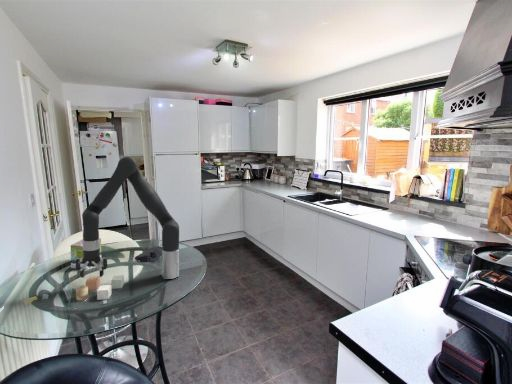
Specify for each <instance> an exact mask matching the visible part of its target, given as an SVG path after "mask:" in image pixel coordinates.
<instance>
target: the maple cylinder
mask: <svg viewBox="0 0 512 384" xmlns="http://www.w3.org/2000/svg"><path fill="white" fill-rule="evenodd" d="M88 298H89V290H88V287H87V286H86V285H82V286H78V287H76V288H75V299H76V301H79V302H82V301H86V300H87V299H88Z"/></svg>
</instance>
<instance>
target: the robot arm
mask: <svg viewBox="0 0 512 384" xmlns="http://www.w3.org/2000/svg"><path fill="white" fill-rule="evenodd" d="M126 180H128V182H130V184H131V185H132V187H133V189H134V191H135V193H136V196H137V197H138V199H139V200H140V202H141V203H142V205H143V206H144V207H145V209H146V210H147V211H148V212H149V213H150V214H152V215H153V216H154V217H155V218H156V220H157V221H158V223H159V225H160V226H161V228H162V229H161V247H162V254H161V257H162V262H161V264H162V265H161V267H162V269H161V271H162V272H161V278H162V277H163V278H166V279H173V278H176V277H178V276H180V226H179V224H178V222H177V220H175V218H174V217H173V216H172V215H171V214H170V212H169V211H168V209H167V207H166V206H165V203H164V202H163V201H162V199H161V197H160V195H159V194H158V193H157V191H156V190H155V188H154V187H153V186H152V185H151V184H150V182H149V181H148V180H147V179H146V178H145V177H144V176H143V173H142V172H141V170H140V168H139V166H138V164H137V160H135V159H134V158H133V157H130V156H124V157H122V158H120V159H119V161H118V162H117V166H116V167H115V170H114V172H113V173H112V175H111V177H110V178H109V179H108V181H107V182H106V183H105V184H104V186H103V187H102V188H101V189H100V190H99V191H98V193H97V194H96V196H95V197H94V198H93V200H92V202H90V203H89V205H87V207H86V208H85V209H84V211H83V212H82V215H81V218H82V228H83V230H82V239H83V246H82V248H83V258H80V257H79V258H77V260H76V268H75V270H76V271H79V273H80V277H81V278H82V279H83V278H85V276H86V272H85V271H86V269H84V268H85V267H86V266H88V267H89V268H90V267H96V268H97V269H98V270H99V276H100V278H102V277H103V276H104V271H105V270H107V268H108V267H109V265H108V258H107V256H104V257H101V258H100V242H99V238H100V231H99V227H100V226H99V225H100V214H101V213H102V212H103V210H104V209H106V208H107V207H109V204H111V202H112V201H113V199H114V198H115V196H116V194H117V193H118V192H119V190H120V188H121V187H122V185H123V184H124V183H125V181H126ZM81 261H83V262H84V265H83V266H82V267H80V262H81ZM163 278H162V279H163ZM178 278H179V277H178ZM176 279H177V278H176ZM173 280H174V279H173Z"/></svg>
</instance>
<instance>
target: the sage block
mask: <svg viewBox="0 0 512 384" xmlns="http://www.w3.org/2000/svg"><path fill="white" fill-rule="evenodd" d="M110 283H111V284H110V285H111V288H112V290H113V289H122V288H123V286H124V284H125V275H124V274H121V275H116V274H115V275H113V277H112V278H111V280H110Z"/></svg>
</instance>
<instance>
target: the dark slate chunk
mask: <svg viewBox="0 0 512 384" xmlns="http://www.w3.org/2000/svg"><path fill="white" fill-rule="evenodd" d="M161 256H162V246H159V245H158V246H153V247H151V249H150V248H149V249H148V250H146V251H143V252H140V253H138V255H136V256H134V258H135V259H136V260H135V259H134V260H135V261H139V260H140V262H144V263H154V262H155V261H156V260H158V259H159V258H160V257H161ZM150 257H151V258H150ZM157 258H158V259H157ZM147 261H148V262H147ZM149 261H151V262H149ZM153 261H154V262H153Z"/></svg>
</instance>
